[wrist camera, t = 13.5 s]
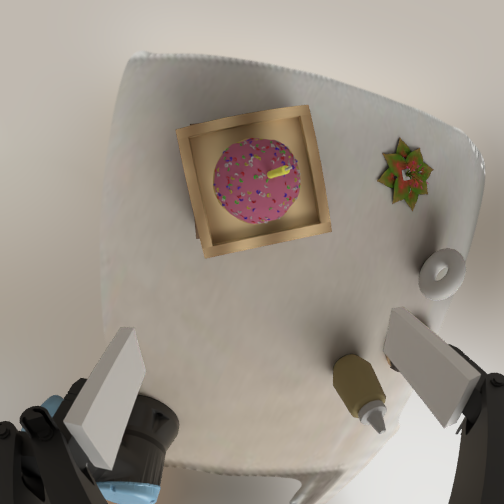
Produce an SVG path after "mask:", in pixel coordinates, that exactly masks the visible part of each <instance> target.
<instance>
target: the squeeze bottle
mask: <svg viewBox="0 0 504 504" xmlns="http://www.w3.org/2000/svg"><path fill="white" fill-rule="evenodd" d="M333 386H334V388H335V389H336V391H337V392H338V394H339V396H340V397H341V399H342V400H343V402H344V404H345V405H346V407H347V408H348V410H349V412H350V413H351V415H352V416H353V417H355V418H359V419H360V421H361V423H362V424H364V425H370V424H371V426H372V427H373V428H374V429H375V430H376V431H377V432H378V433H379V434H382V433H384V432H385V431H386V429H385V424H384V420H383V417H384V415H385V414H386V411H387V409H386V407H385V405H384V403H385V399H386V396H385V394H384V392H383V389H382V387H381V385H380V383H379V381H378V379H377V376H376V374H375V372H374V370H373V368H372V366H371V364H370V363H369V362H367V361H366V360H364V359H362V358H361V357H359V356H357V355H354V354H349V355H346V356H344V357H342V358H340V359H339V360H338V361H337V362H336V363H335V365H334V368H333Z"/></svg>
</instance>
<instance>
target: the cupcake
mask: <svg viewBox="0 0 504 504" xmlns="http://www.w3.org/2000/svg"><path fill="white" fill-rule="evenodd" d="M297 162H298V161H296V159H295V157H294V155H293V154H292V152H291V151H290V150H289V147H288V146H285V145H284V144H282V143H281V142H279V141H277V140H268V139H261V138H248V139H244V140H241V141H239V142H236V143H235V144H232V145H231V146H229V147H228V148H227V149H226V150H225V151H223V154H222V155H221V157H220V158H219V160H218V161H217V164H216V166H215V169H214V174H213V190H214V193H215V196H216V198H217V200H218V202H219V203H220V205H221V206H222V207H223V208H224V209H225V210H226V211H227V212H229V213H230V214H231V215H233V216H234V217H236V218H237V219H238V220H240V221H242V222H245V223H248V224H261V223H268V221H272V220H276V219H280V217H282V216H283V215H284V214H285V213H286V212H287V210H288V209H289V208H290V206H291V205H292V204H293V203H294V202H295V200H296V199H297V198H298V194H299V190H300V186H301V185H300V182H301V181H300V174H301V173H300V170H299V167H298V165H297Z"/></svg>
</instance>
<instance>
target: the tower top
mask: <svg viewBox="0 0 504 504" xmlns="http://www.w3.org/2000/svg"><path fill="white" fill-rule="evenodd" d="M176 134H177V139H178V144H179V149H180V154H181V159H182V164H183V168H184V173H185V177H186V182H187V186H188V191H189V195H190V200H191V204H192V208H193V212H194V217H195V221H196V225H197V229H198V233H199V237H200V241H201V245H202V249H203V253H204V257H205V258H210V257H215V256H219V255H224V254H229V253H233V252H238V251H243V250H247V249H252V248H257V247H262V246H266V245H271V244H276V243H280V242H285V241H290V240H295V239H299V238H304V237H309V236H314V235H318V234H323V233H328V232H332V229H331V222H330V215H329V208H328V202H327V195H326V189H325V183H324V178H323V172H322V166H321V161H320V156H319V151H318V146H317V141H316V136H315V131H314V127H313V122H312V118H311V114H310V109H309V105H301V106H293V107H285V108H277V109H271V110H264V111H258V112H252V113H246V114H241V115H236V116H231V117H226V118H221V119H217V120H212V121H208V122H204V123H199V124H195V125H191V126H188V127H184V128H180V129H176ZM248 138H261V139H268V140H277V141H279V142H281V143H282V144H284V145H285V146H288V147H289V150H290V151H291V152H292V154H293V155H294V157H295V159H296V161H298V162H297V165H298V167H299V170H300V173H301V174H300V181H301V182H300V185H301V186H300V190H299V194H298V198H297V199H296V200H295V202H294V203H293V204H292V205H291V206H290V208H289V209H288V210H287V212H286V213H285V214H284V215H283V216H282V217H280V219H276V220H272V221H268V223H261V224H248V223H245V222H242V221H240V220H238V219H237V218H236V217H234V216H233V215H231V214H230V213H229V212H227V211H226V210H225V209H224V208H223V207H222V206H221V205H220V203H219V202H218V200H217V198H216V196H215V193H214V190H213V174H214V169H215V166H216V164H217V161H218V160H219V158H220V157H221V155H222V154H223V151H225V150H226V149H227V148H228V147H229V146H231V145H232V144H235V143H236V142H239V141H241V140H244V139H248Z"/></svg>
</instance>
